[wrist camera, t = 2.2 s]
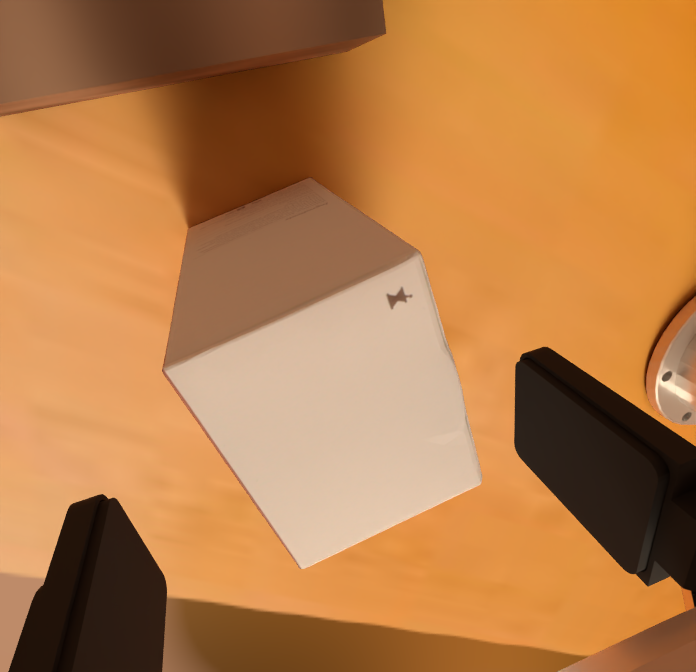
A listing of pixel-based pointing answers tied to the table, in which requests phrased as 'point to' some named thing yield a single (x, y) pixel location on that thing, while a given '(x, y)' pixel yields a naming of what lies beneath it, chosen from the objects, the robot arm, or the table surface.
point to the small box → (319, 369)
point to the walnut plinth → (162, 42)
